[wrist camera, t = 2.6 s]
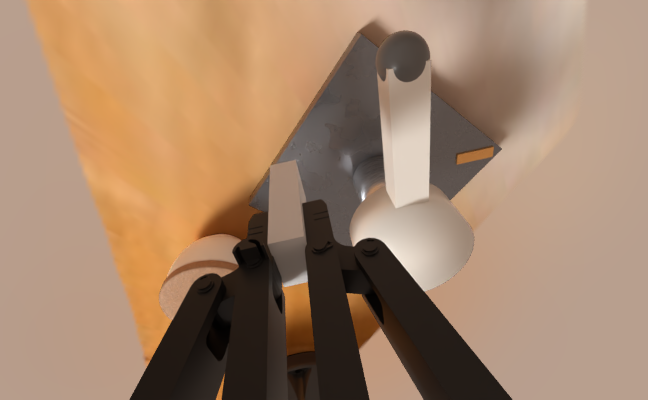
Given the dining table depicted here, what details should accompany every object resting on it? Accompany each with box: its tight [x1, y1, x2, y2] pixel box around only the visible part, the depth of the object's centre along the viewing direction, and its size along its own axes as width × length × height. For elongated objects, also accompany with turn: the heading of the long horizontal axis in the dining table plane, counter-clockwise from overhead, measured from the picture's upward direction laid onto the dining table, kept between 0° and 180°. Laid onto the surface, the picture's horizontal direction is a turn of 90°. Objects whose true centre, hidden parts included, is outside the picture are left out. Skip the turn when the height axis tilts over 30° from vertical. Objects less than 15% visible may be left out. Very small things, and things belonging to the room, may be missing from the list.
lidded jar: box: [159, 234, 242, 320], centre depth 36 cm, size 11×11×9 cm
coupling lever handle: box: [350, 31, 474, 292], centre depth 23 cm, size 20×9×4 cm, turn 10°
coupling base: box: [249, 32, 502, 246], centre depth 32 cm, size 20×20×10 cm
